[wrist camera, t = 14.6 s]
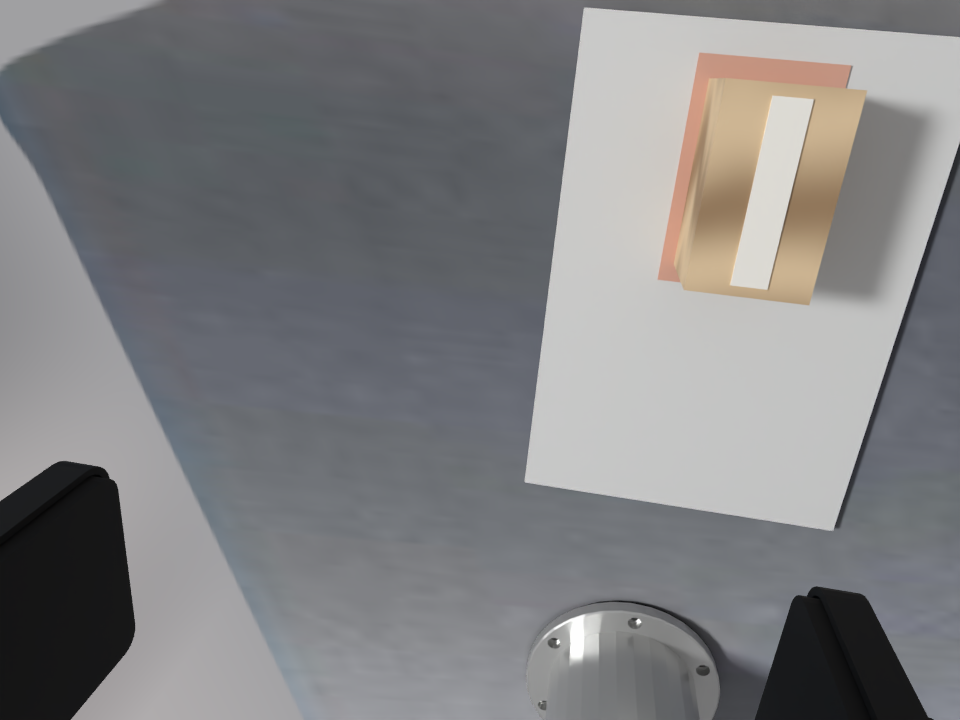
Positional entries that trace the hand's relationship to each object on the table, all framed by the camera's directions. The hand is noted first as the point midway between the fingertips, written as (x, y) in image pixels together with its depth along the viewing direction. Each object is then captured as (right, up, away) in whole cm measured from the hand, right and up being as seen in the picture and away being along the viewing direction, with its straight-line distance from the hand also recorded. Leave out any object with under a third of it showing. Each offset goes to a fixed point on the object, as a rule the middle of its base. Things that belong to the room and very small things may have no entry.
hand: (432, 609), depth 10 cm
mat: (+13, +7, +28) cm, 32 cm away
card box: (+14, +12, +25) cm, 31 cm away
